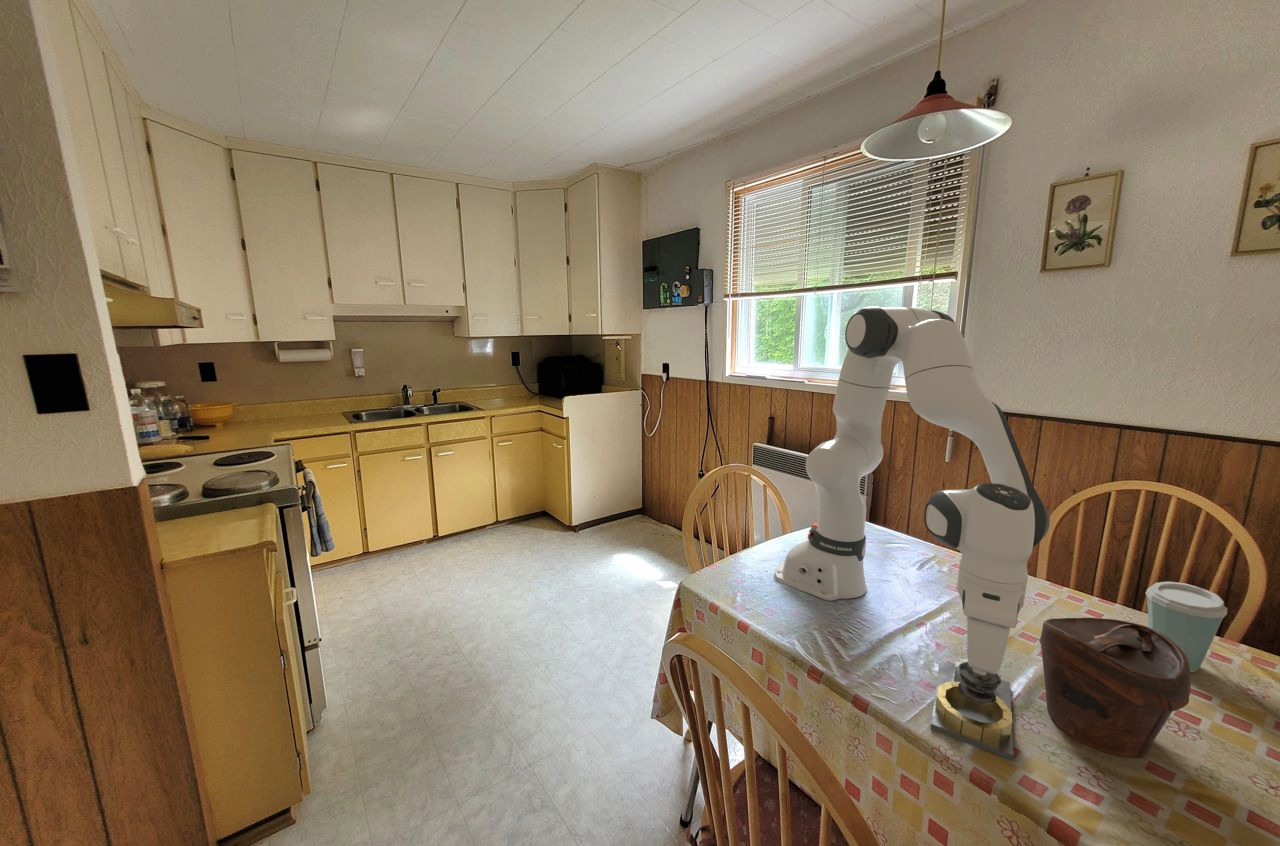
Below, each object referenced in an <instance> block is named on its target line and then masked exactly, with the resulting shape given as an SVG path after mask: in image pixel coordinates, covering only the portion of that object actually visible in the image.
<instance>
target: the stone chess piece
mask: <svg viewBox="0 0 1280 846" xmlns="http://www.w3.org/2000/svg"><path fill="white" fill-rule="evenodd" d="M958 669H959V672H960V675H961V678H962V682H960V683H959V684H958V689H959V691H960V692H961V693H962V694H963V695H964V696H965V697H967V698H968V699H970V700H972V701H974V702H977V703H980V704H993V703H994V702H995V701H996V696H995V694H994V693H993V692H994V691H995V690H996V689H997V687H998V686H999V685H1000V684H1001V680H1002V678H1001V676H1000V675H999V674H998V672H997V673H996V674H990V673H987V672H986V675H981V674H978V673H975V672H974V671H973V668H972V667H970V666H969V664H968V662H963V663H961V664H960V665H959V667H958Z"/></svg>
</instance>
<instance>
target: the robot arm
mask: <svg viewBox="0 0 1280 846" xmlns="http://www.w3.org/2000/svg"><path fill="white" fill-rule="evenodd" d="M845 327H846V328H845V331H844V338H845V343H846V345H847V348H848V349H847V352H846V354H845V356H844V359H843V362H842V366H841V368H840V373H839V376H838V377H839V378H838V381H837V385H836V386H837V387H836V390H835V394H834V400H833V404H832V412H833V414H834V416H835V420H836V421H835V422H836V424H835V425H836V428H835V429H836V430H835V431H836V432H835V435H834V438H833V439H830V440H828V441H824V442H821V443H820V444H819V445H817V446H815V448H814V449H812V451H810V452H809V454H808V455H807V457H806V459H805V460H806V461H805V469H806V473H807V475H808V477H809V479H810V480H811V481H812V482H813V483H814V485H815V489H816V495H817V500H818V508H817V522H814V523H813V524H812V525H811V527H810V529H809V531H808V534H807V540H805V541H802V542H800V543H798V544H796V545H794V546H793V547H792V548H791V549H790V550H789V551H788V552H787V554H786V557H785V559H784V560H782V561H781V562H779V564H778V565H777V566H776V568H775V571H774V578H775V580H776V581H778V582H779V583H783V584H785V585H787V586H790V587H792V588H794V589H798V590H800V591H803V592H805V593H808V594H809V595H812V596H815V597H818V598H820V599H821V600H825V601H829V602H831V601H837V600H839V599H843V600H844V599H854V598H856V599H857V598H859V597H861V596H863V595H865V594H866V593H867V591H868V589H867V588H868V587H867V584H866V579H865V578H866V577H865V569H864V558H865V556H866V547H867V541H866V540H867V536H866V535H865V529H866V516H867V506H866V503H865V502H864V501H863V499H862V495H861V491H860V489H861V487H860V482H861V479H862V478H863V477H864V476H866V475H868V474H871V473H872V472H874V471H875V469H877V468H878V466H879V465H880V463H882V460H883V457H884V447H883V444H882V424H883V423H882V422H883V415H884V411H885V407H886V403H887V398H888V395H889V391H890V386H891V384H892V383H891V382H892V378H893V373H894V370H895V367H896V366H897V365H898V363H900V362H902V366H903V373H904V381H905V388H906V389H905V391H906V395H907V399H908V402H909V404H910V407H911V408H912V410H913V411H914V412H915V413H916V414H917V415H918V416H920V417H921V418H922V419H924V420H926V421H928V422H929V423H931V424H934V425H936V426H939V427H942V428H946V429H948V430H952V431H954V432H956V433H959V434H961V435H963V436H965V437H966V438H968V439H969V440H971V441H972V442H973V443H974V444H975V445H976V446H977V448H978V449H979V451H980V454H981V456H982V458H983V461H984V462H983V463H984V465H985V467H986V469H987V473H988V475H989V478H990V481H991V482H987V483H986V482H985V483H980V484H978V485H976V486H974V487H973V488H970V489H968V488H967V489H944V490H937V491H936V492H934V493H933V494H932V495H931V496H930V497H929V498H928V501H927V502H926V504H925V507H924V512H923V513H924V514H923V515H924V516H923V518H924V519H923V521H924V525H925V526H924V527H925V529H926V530H927V532H928V533H929V534H930V535H931V536H932V537H933V538H934V539H935V540H936V541H938V542H939V543H941V544H943V545H945V546H946V547H948V548H951V549H957V550H958V551H959V552H960V553H961V557H960V560H959V565H958V573H957V582H956V591H957V593H958V595H959V597H960V599H961V602H962V604H961V605H962V610H963V611H962V612H963V615H964V616H966V635H967V636H966V641H967V643H966V647H967V648H966V649H967V651H966V652H967V657H966V658H967V660H968V664H969V666H970V667H972V668H973V671H974V672H975V673H978V674H981V675H986V672H987V673H990V674H996V673H997V674H998V672H999V671H1000V668H1001V665H1002V662H1003V659H1004V655H1005V652H1006V647H1007V644H1008V640H1009V635H1010V631H1011V629H1015V628H1016V627H1017V622H1018V618H1019V617H1018V616H1019V613H1020V612H1021V609H1022V608H1023V607H1024V606H1025V605H1024V604H1025V598H1026V591H1027V587H1028V586H1027V585H1028V579H1029V573H1028V572H1029V571H1028V568H1027V567H1028V566H1027V564H1028V561H1029V558H1030V557H1031V555H1032V552H1033V548H1034V547H1036V546H1037V545H1039V543H1040V542H1041V541H1042V540H1043V539H1044V538H1045V536H1046V535H1047V533H1048V531H1049V529H1050V526H1051V519H1050V518H1051V517H1050V514H1049V512H1048V509H1047V507H1046V505H1045V503H1044V501H1043V500H1042V498H1041V496H1040V495H1039V494H1038V492H1037V490H1036V488H1035V486H1034V484H1033V481H1032V480H1031V477H1030V475H1029V473H1028V470H1027V467H1026V464H1025V462H1024V460H1023V457H1022V455H1021V452H1020V449H1019V446H1018V445H1017V444H1018V443H1017V442H1016V441H1017V440H1016V439H1015V437H1014V435H1013V432H1012V429H1011V427H1010V425H1009V422H1008V420H1007V419H1006V415H1005V414H1004V412H1003V410H1002V409H1001V408H1000V406H999V405H998V404H996V403H995V402H993V401H991V399H989V398H988V397H987V396H986V395H985V393H984V392H983V390H982V388H981V386H980V385H979V383H978V382H977V380H976V377H975V376H976V375H975V373H974V368H973V363H972V359H971V355H970V351H969V349H968V346H967V344H966V341H965V338H964V336H963V334H962V331H961V330H960V328H959V327H958V325H957V324H956V322H955V320H954V319H953V318H952V317H951V316H949V315H948V314H946V313H944V312H942V311H938V310H932V309H931V310H926V309H924V308H923V309H922V308H916V307H910V306H902V307H897V306H895V307H892V306H889V307H887V306H886V307H880V306H877V305H875V306H867V307H866V306H865V307H863V308H859V309H857V310H856V311H855V312H853V314H852V315H851V317H850V318H849V320H848V321H847V323H846V326H845Z"/></svg>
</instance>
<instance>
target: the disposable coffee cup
mask: <svg viewBox="0 0 1280 846" xmlns="http://www.w3.org/2000/svg"><path fill="white" fill-rule="evenodd" d="M1145 595H1146V600H1147V619H1148V623H1147V624H1148V627H1149V628H1151V629H1153V630H1155V631H1158V632H1160V633H1162V634H1163V635H1165V636H1166V637H1168V638H1169V639H1170V640H1172V641H1173V642H1174V643H1175V644H1176V645H1178V646H1179V647H1180V648H1181V650H1182V651H1183V652H1184V654H1185V655H1186V657H1187V659H1188V662H1189V666H1190V673H1195V672H1197V670H1199V669H1200V668H1201V666H1202V665H1203V662H1204V660H1205V659H1206V658H1205V657H1206V655H1207V653H1208V651H1209V649H1210V648H1211V645H1212V642H1213V640H1214V639H1215V636H1216V634H1217V632H1218V631H1219V630H1218V629H1219V628H1220V626H1221V623H1222V621H1223V619H1224V618H1225V617H1226V616H1227V615H1228V607H1226V605H1225V602H1224V600H1223V599H1222V598H1221V597H1220V596H1219V595H1218V594H1216V593H1214V592H1212V591H1209V590H1207V589H1205V588H1202V587H1199V586H1195V585H1192V584H1188V583H1185V582H1184V583H1183V582H1178V581H1177V582H1176V581H1160V582H1155V583H1154V584H1152V585H1150V586H1149V587H1148V588H1147V589H1146V592H1145Z"/></svg>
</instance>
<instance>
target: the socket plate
mask: <svg viewBox="0 0 1280 846" xmlns="http://www.w3.org/2000/svg"><path fill="white" fill-rule="evenodd" d="M963 662H968V658H961V659H957V660H956V661H955V664H954V663H951V662H947V661H944V660H940V661H939V669H938V674H937V682H936V687H935V688H936V689H935V695H934V700H933V701H934V703H933V708H932V715H931V720H930V722H931V723H930V730H933V731H936V732H938V733H940V734H943V735H946V736H947V737H950V738H953V739H955V740H959V741H961V742H963V743H966V744H969V745H971V746H973V747H976V748H979V749H982V750H984V751H987V752H989V753H990V754H991V753H992V754H994V755H996V756H997V755H998V756H999V757H1002V758H1004V759H1007V760H1010V761H1011V762H1013V761H1014V756H1015V755H1014V738H1013V737H1014V736H1013V712H1012V702H1011V701H1012V700H1011V698H1012V697H1011V683H1010V681H1007V680H1003V679H1001V684H1000V685H999V686H998V687H997V689H996V690H995V691H994V692H993V693H994V694H995V696H996V701H995V702H994V703H993V704H980V703H977V702H974V701H972V700H970V699H968V698H967V697H965V696H964V695H963V694H962V693H961V692H960V691H959V689H958V684H959V683H960V682H962V678H961V675H960V672H959V669H958V667H959V665H960V664H961V663H963Z"/></svg>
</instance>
